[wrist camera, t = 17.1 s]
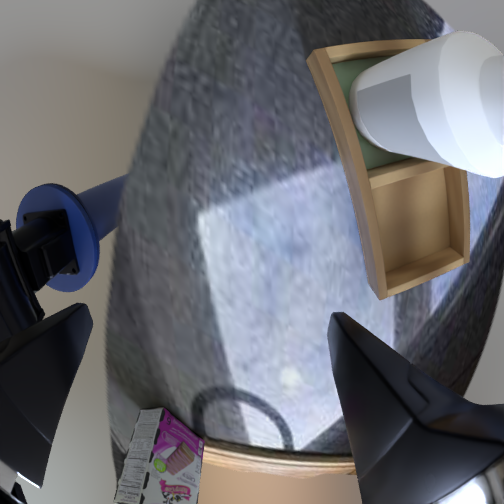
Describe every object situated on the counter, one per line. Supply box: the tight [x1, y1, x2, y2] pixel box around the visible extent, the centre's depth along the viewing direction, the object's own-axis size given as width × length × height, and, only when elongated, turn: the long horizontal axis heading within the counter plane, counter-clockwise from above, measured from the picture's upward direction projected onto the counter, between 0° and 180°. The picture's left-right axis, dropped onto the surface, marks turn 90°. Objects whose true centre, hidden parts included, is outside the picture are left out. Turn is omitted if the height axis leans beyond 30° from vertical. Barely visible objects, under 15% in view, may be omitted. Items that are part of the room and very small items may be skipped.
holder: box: [306, 39, 470, 300], centre depth 18 cm, size 10×19×3 cm, turn 20°
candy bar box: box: [113, 407, 205, 504], centre depth 26 cm, size 11×5×16 cm, turn 25°
